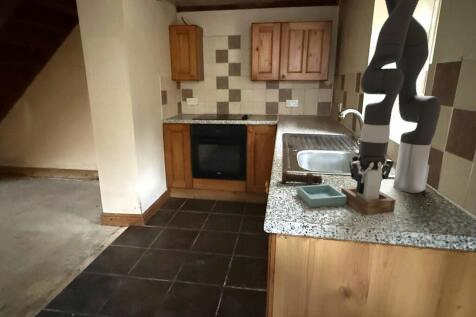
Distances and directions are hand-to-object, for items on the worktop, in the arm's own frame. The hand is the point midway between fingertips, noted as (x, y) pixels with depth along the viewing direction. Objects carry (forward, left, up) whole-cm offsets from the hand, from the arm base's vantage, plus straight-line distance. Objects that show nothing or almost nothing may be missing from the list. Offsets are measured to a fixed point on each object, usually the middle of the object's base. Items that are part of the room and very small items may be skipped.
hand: (367, 192), depth 87 cm
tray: (+12, -7, -5) cm, 15 cm away
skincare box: (0, 0, -5) cm, 5 cm away
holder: (0, 0, -4) cm, 4 cm away
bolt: (+12, -22, -5) cm, 26 cm away
